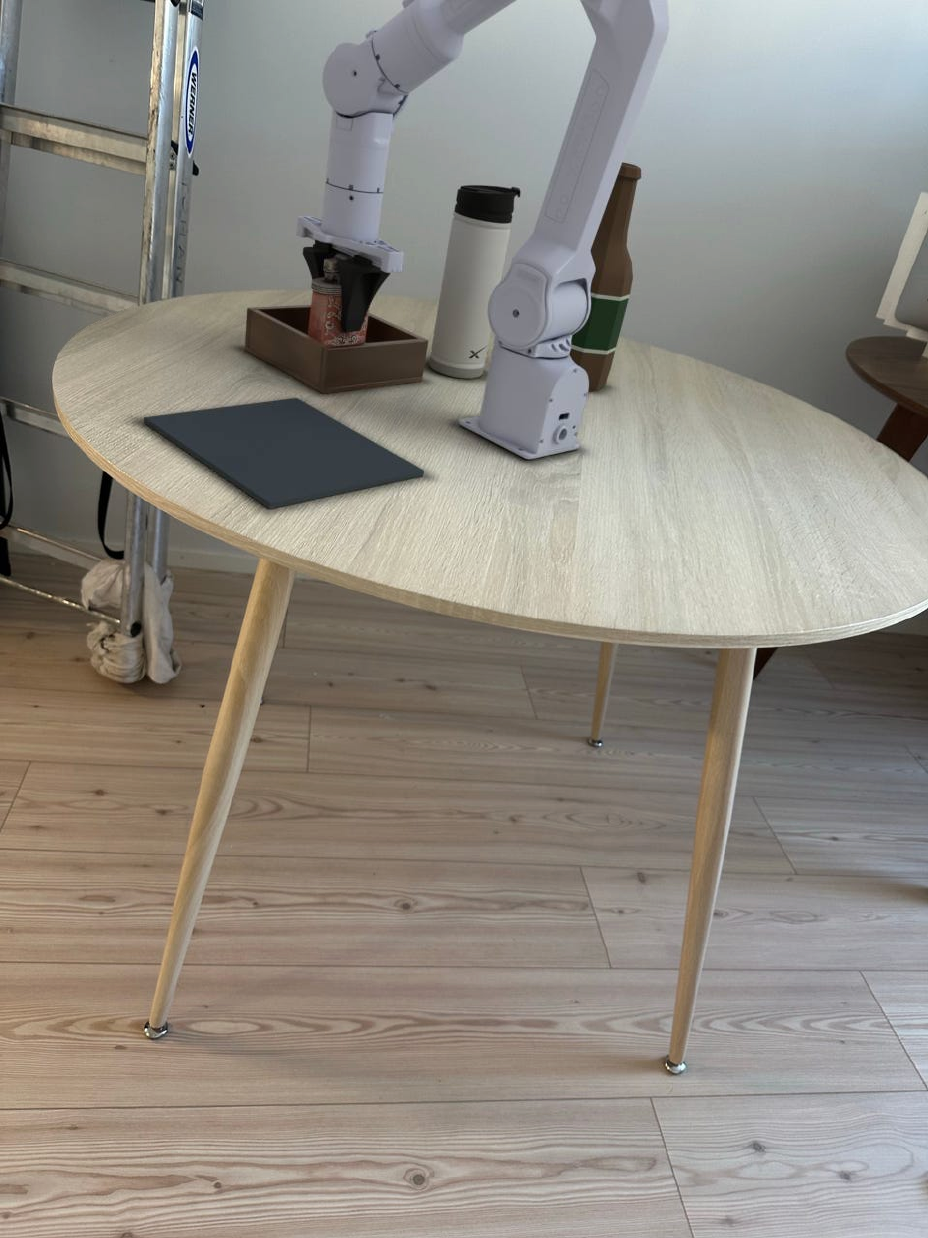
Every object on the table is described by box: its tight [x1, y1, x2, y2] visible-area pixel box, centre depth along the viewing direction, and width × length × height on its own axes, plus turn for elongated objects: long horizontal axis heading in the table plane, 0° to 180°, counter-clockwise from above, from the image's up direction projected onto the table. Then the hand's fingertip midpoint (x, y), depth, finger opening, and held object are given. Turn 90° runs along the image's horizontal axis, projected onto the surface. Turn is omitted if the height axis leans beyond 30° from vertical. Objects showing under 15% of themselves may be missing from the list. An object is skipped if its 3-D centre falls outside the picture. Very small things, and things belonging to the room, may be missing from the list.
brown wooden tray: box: [243, 304, 429, 395], centre depth 105 cm, size 14×14×4 cm
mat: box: [143, 397, 425, 510], centre depth 84 cm, size 18×16×1 cm
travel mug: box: [428, 184, 521, 380], centre depth 108 cm, size 6×7×20 cm
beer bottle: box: [569, 161, 642, 392], centre depth 112 cm, size 8×8×24 cm
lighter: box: [308, 254, 371, 346], centre depth 103 cm, size 8×3×10 cm, turn 142°
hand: (339, 324), depth 104 cm, fingers closed on lighter, 3 cm apart
